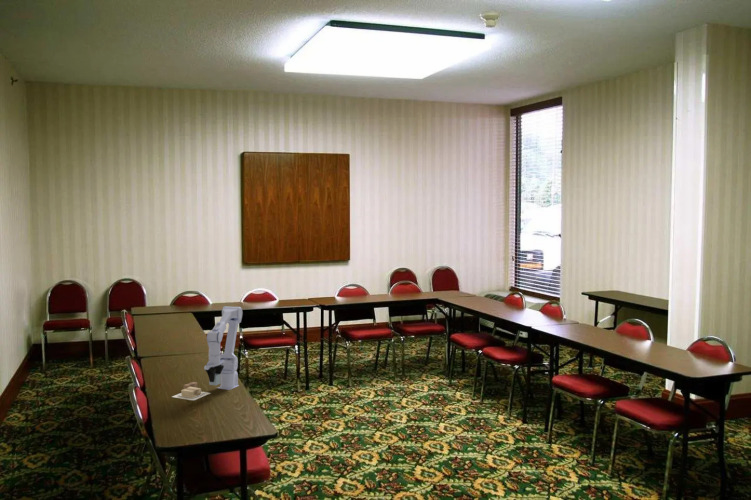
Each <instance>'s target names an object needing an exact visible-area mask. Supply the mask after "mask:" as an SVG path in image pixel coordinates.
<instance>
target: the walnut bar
mask: <svg viewBox="0 0 751 500" xmlns="http://www.w3.org/2000/svg"><path fill="white" fill-rule="evenodd" d="M198 385H199V384H198V382H196V381H192V382H189V383H185V384H183V388H182V390H183V389H186V388H188V387H196V388H199V387H198Z"/></svg>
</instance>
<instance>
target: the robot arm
mask: <svg viewBox="0 0 751 500" xmlns="http://www.w3.org/2000/svg"><path fill="white" fill-rule="evenodd" d="M243 313H244V312H243V309H242V307H241V306H227V305H225V306H223V307H222V309H221V318H220V320H219V321H217V322H216V323H215V325H214V327H213V328H212V329H211V330H210V331H208V332H207V334H206V335H207V336H206V341H207V346H208V361H207V363H206V365H204V367H203V368H204V369H203V370H204V371H205V372H206V374H207V376H208V381H209V380H210V382H214V378H215V373H216V374H220V386H218V387H217V389H221V390H228V391H230V390H232V389H235V388H237V387H239V386H240V385H239V374H238V371H237V370H238V368H239V365H238V364H239V360H238V357H237V355H235V347H236V340H237V335H238V329H239V328H238V327H239V324H240V323H242V319H243ZM227 325H228V328H227ZM226 329H227V333H226V334H227V335H226V341H225V347H224V353H222V354H221V342H222V340H223V337H224V333H225V331H226Z"/></svg>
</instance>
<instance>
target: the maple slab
mask: <svg viewBox="0 0 751 500" xmlns="http://www.w3.org/2000/svg"><path fill="white" fill-rule="evenodd" d="M201 392H202V388H200V387H198V388H196V387H188V388H186V389H183V388H182V389H181V391H180V393H181V396H185V397H192V398H193V397H195V396H198V395H200V394H201Z"/></svg>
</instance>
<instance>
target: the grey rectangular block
mask: <svg viewBox="0 0 751 500" xmlns="http://www.w3.org/2000/svg"><path fill="white" fill-rule="evenodd" d="M208 384H209V386H218V385H221V375H220V374H216V373H215V378H214V382H210V380H209V379H208Z"/></svg>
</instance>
